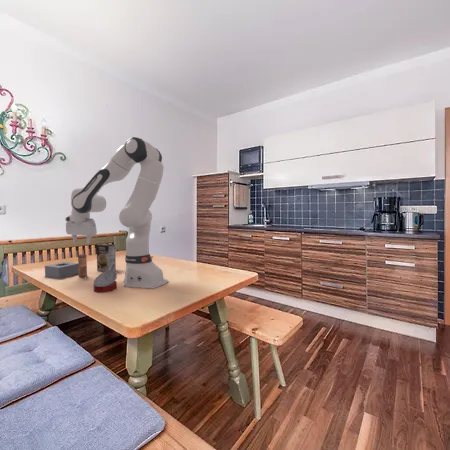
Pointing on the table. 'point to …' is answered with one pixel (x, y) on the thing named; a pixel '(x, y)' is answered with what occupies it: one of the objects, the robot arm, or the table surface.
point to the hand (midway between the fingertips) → (81, 243)
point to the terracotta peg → (82, 266)
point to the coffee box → (106, 257)
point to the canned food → (105, 282)
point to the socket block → (61, 270)
